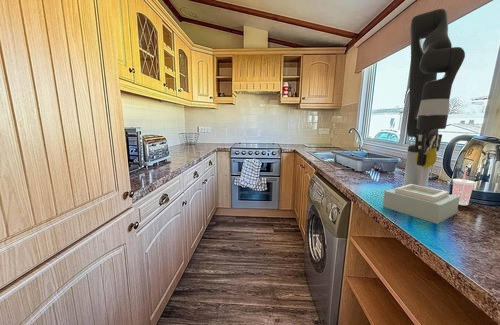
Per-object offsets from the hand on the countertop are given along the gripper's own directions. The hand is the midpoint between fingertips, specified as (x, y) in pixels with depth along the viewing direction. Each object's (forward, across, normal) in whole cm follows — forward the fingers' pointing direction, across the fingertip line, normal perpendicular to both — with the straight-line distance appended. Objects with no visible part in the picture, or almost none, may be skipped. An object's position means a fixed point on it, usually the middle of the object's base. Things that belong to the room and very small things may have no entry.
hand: (425, 164), depth 73 cm
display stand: (+16, 0, 0) cm, 16 cm away
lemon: (+2, 0, 0) cm, 2 cm away
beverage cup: (+17, -22, +5) cm, 28 cm away
